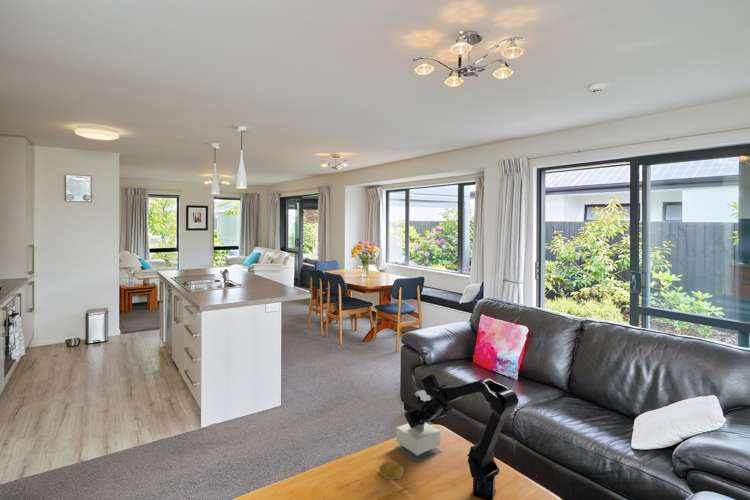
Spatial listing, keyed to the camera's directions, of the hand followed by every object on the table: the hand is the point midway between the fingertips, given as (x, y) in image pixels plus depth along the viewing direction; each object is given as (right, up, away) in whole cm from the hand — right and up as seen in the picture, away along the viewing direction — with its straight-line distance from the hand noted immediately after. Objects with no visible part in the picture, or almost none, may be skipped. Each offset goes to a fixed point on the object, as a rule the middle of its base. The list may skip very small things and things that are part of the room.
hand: (415, 422), depth 166 cm
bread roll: (-11, -12, -16) cm, 23 cm away
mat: (+1, -11, -1) cm, 11 cm away
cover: (+1, -8, -1) cm, 8 cm away
